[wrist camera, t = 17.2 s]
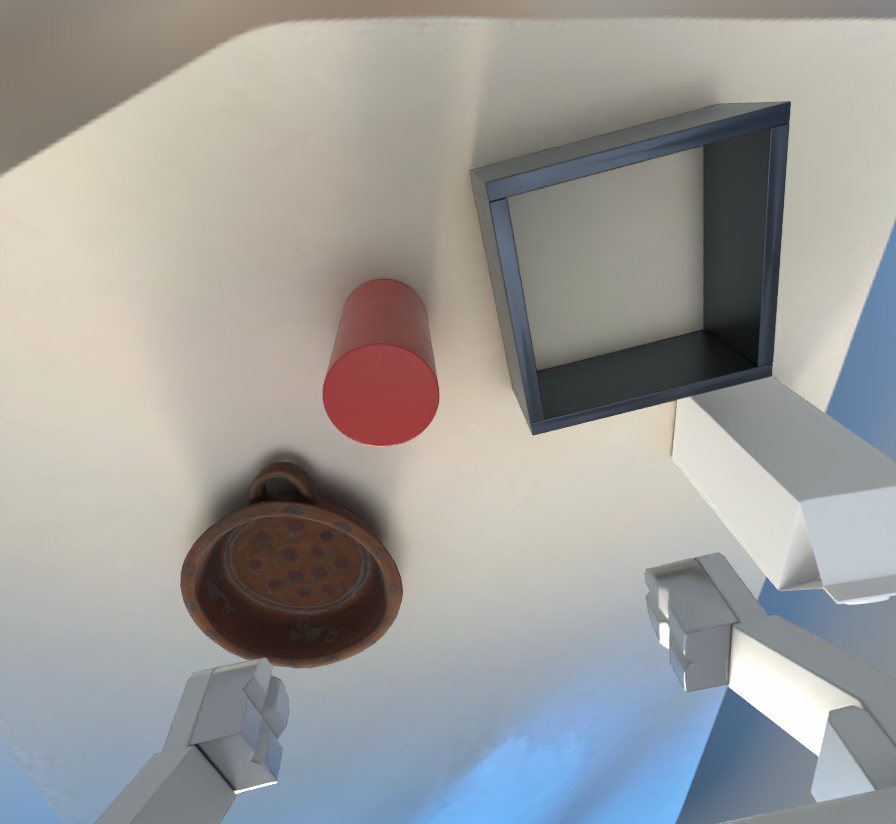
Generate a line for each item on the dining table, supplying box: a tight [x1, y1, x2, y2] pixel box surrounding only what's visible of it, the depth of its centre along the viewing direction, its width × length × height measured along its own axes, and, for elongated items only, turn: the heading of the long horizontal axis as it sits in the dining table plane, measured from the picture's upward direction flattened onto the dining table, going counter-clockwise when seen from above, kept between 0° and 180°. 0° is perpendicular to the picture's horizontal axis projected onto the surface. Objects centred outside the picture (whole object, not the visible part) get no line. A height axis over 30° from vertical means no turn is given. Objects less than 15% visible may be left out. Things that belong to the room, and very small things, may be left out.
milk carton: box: [672, 376, 896, 604], centre depth 37 cm, size 7×7×19 cm
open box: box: [469, 101, 791, 435], centre depth 35 cm, size 16×16×7 cm
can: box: [323, 279, 439, 447], centre depth 33 cm, size 6×6×12 cm
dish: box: [180, 461, 403, 668], centre depth 46 cm, size 17×22×5 cm
